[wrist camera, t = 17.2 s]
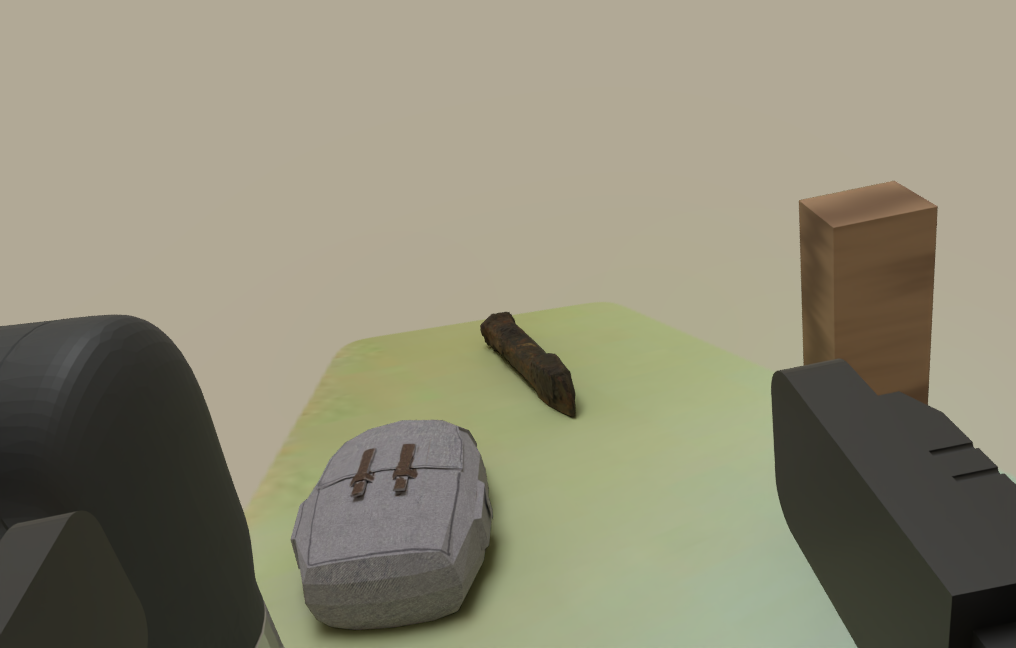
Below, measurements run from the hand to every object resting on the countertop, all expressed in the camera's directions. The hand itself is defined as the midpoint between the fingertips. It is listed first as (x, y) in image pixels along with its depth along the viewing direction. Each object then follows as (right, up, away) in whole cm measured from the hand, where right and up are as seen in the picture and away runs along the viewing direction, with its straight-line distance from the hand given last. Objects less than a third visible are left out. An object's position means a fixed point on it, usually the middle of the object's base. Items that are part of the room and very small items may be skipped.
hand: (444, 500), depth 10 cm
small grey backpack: (-7, -15, +58) cm, 61 cm away
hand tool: (+4, -3, +77) cm, 77 cm away
